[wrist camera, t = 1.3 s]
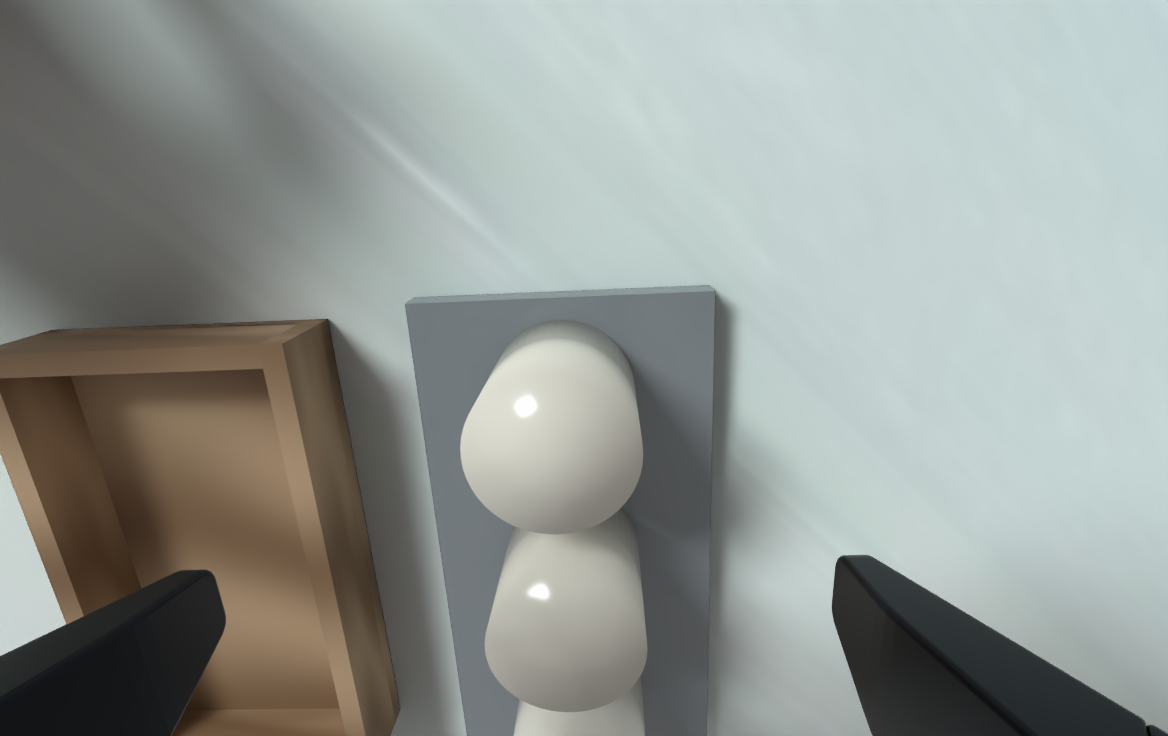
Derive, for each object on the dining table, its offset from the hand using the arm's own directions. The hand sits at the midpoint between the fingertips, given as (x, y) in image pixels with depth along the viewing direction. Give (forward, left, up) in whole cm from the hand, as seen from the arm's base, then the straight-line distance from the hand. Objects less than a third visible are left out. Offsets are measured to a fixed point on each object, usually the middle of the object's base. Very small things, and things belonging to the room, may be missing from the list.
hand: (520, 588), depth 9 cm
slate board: (-5, 0, -9) cm, 10 cm away
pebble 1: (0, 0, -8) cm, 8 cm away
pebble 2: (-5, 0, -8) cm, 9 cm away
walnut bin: (-5, +10, -9) cm, 15 cm away
